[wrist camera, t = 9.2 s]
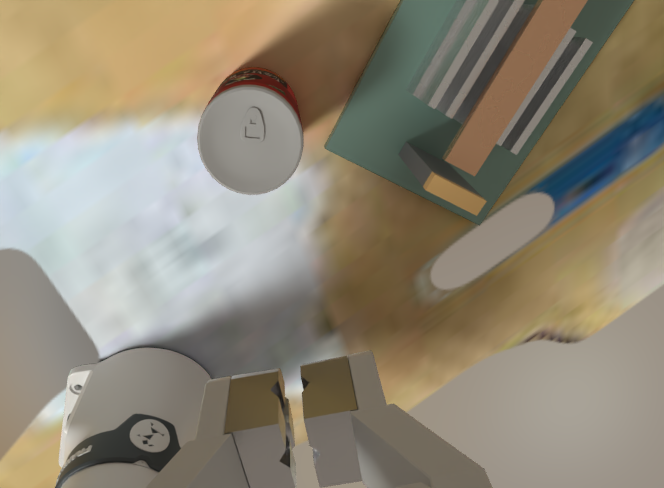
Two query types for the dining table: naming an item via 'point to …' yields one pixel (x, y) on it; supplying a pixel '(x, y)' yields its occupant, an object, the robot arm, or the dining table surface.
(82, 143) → the dining table surface
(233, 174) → the canned food
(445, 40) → the heatsink
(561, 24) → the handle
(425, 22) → the board
